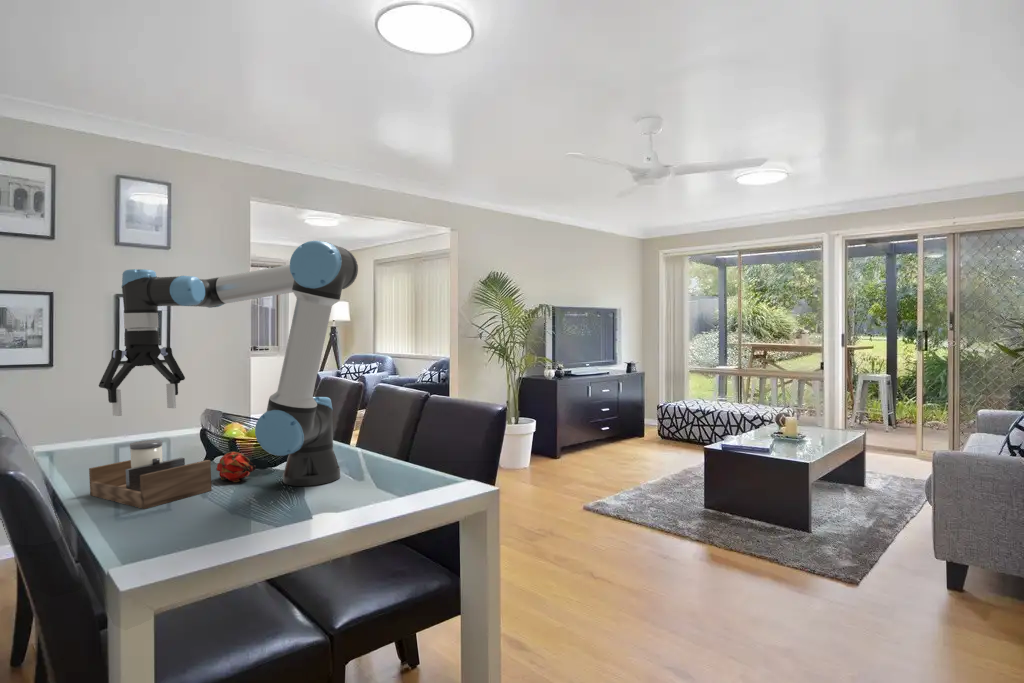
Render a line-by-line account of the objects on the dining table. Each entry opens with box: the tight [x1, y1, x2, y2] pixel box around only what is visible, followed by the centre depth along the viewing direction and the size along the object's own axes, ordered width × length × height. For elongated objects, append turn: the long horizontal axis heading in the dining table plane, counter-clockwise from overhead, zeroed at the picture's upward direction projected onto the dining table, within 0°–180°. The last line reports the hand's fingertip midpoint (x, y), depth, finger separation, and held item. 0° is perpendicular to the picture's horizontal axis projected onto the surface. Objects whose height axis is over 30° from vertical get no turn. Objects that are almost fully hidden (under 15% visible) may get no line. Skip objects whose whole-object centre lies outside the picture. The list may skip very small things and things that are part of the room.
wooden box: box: [88, 459, 212, 510], centre depth 153 cm, size 25×17×8 cm
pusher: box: [126, 457, 186, 492], centre depth 152 cm, size 2×14×8 cm, turn 150°
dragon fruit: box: [215, 450, 256, 483], centre depth 165 cm, size 8×8×12 cm
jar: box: [129, 439, 163, 468], centre depth 154 cm, size 7×7×12 cm
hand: (145, 411), depth 153 cm, fingers open, 13 cm apart
